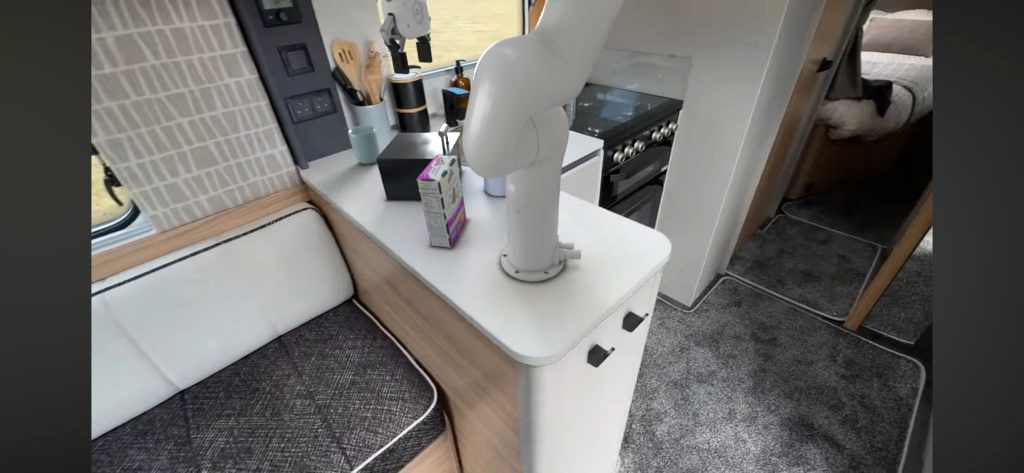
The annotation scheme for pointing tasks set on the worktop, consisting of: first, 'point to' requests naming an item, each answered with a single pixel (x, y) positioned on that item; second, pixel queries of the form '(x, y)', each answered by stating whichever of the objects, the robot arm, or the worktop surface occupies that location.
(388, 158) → the bin lid
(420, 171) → the bin
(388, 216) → the worktop surface
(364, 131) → the cup
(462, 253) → the worktop surface
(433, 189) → the candy bar box
